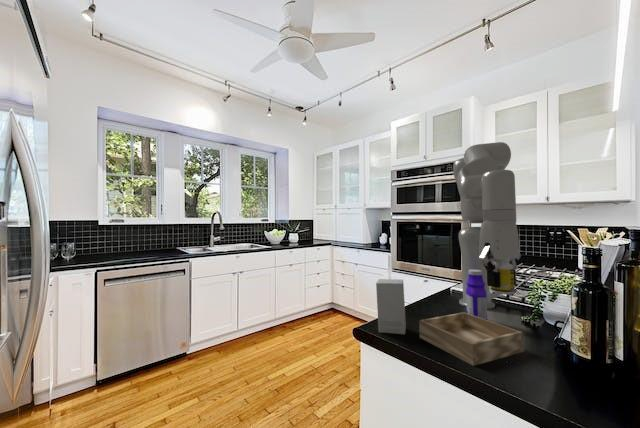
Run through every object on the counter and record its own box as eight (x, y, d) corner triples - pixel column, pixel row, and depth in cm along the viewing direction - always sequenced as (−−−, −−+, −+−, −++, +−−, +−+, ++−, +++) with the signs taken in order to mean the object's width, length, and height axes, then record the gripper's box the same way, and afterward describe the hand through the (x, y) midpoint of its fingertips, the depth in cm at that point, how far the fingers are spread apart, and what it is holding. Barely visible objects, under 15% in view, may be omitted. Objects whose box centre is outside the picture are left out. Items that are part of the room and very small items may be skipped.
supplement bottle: (515, 296, 70) (514, 256, 70) (490, 293, 73) (489, 255, 73) (513, 291, 75) (512, 254, 75) (489, 289, 77) (488, 253, 78)
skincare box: (406, 327, 90) (404, 279, 90) (405, 335, 84) (403, 283, 84) (379, 325, 93) (378, 278, 93) (377, 332, 86) (375, 282, 87)
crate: (464, 328, 89) (464, 312, 89) (523, 351, 72) (522, 332, 72) (419, 337, 82) (419, 320, 82) (473, 365, 66) (472, 344, 66)
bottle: (490, 326, 90) (488, 272, 90) (471, 325, 91) (469, 272, 91) (482, 319, 97) (480, 268, 97) (464, 318, 98) (462, 268, 98)
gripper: (505, 216, 81) (508, 279, 81) (463, 217, 74) (466, 286, 74) (534, 216, 74) (537, 284, 74) (490, 217, 67) (493, 292, 67)
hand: (501, 284), depth 74 cm, fingers closed on supplement bottle, 5 cm apart
